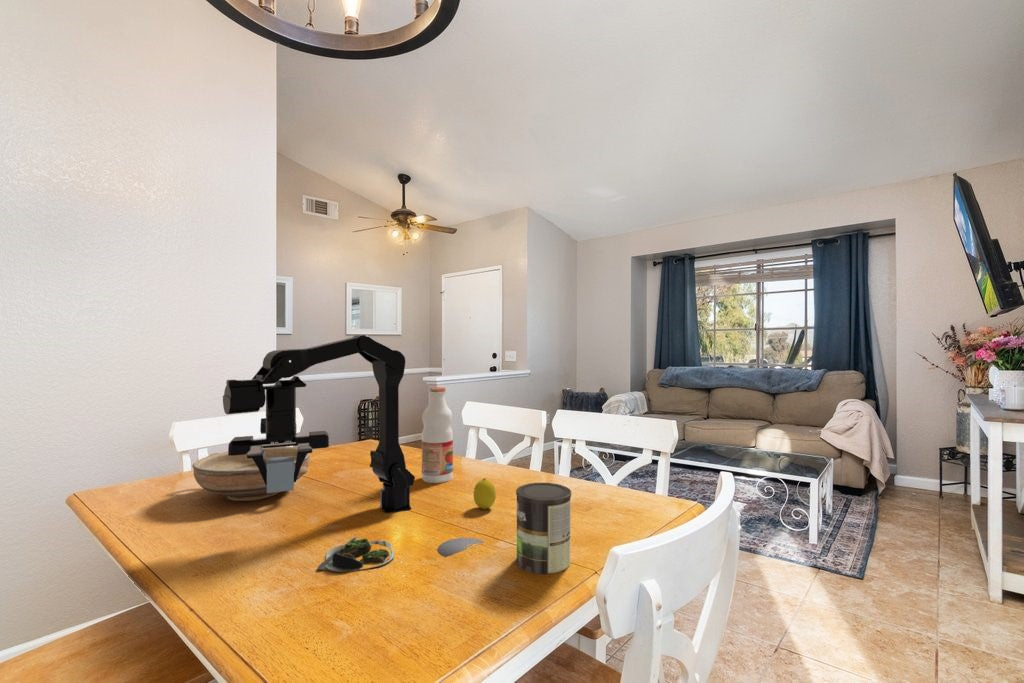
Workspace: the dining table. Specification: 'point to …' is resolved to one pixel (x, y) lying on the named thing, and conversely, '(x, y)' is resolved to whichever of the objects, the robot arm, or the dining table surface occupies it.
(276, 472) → the slate block
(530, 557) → the coffee can
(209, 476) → the ceramic bowl
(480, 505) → the lemon
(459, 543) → the gray coaster
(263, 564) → the dining table surface
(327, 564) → the salad plate
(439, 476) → the fruit juice
